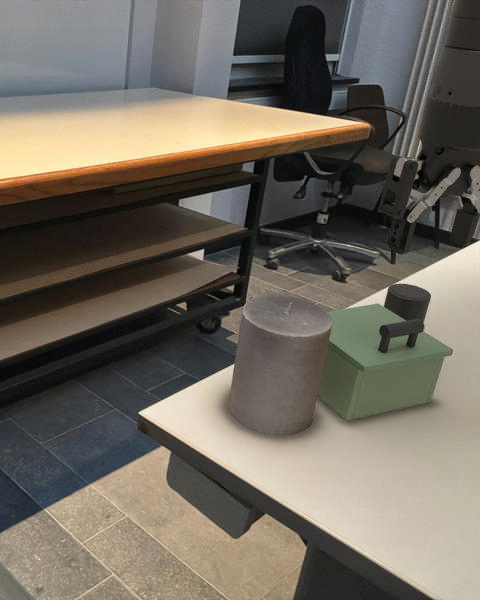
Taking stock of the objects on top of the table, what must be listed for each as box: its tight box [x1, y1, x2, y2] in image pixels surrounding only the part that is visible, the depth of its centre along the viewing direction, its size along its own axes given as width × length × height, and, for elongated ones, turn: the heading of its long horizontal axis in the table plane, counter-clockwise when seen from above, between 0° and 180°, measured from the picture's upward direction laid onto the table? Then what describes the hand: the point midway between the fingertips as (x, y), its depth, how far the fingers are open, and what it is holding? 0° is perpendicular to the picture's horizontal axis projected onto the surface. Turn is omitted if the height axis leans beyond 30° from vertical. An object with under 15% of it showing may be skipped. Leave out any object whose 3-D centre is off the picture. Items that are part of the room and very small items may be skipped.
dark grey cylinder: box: [383, 283, 432, 324], centre depth 94 cm, size 5×5×8 cm
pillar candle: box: [227, 294, 333, 436], centre depth 77 cm, size 10×10×15 cm
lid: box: [327, 303, 454, 373], centre depth 81 cm, size 12×13×4 cm
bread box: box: [317, 346, 446, 422], centre depth 84 cm, size 12×13×8 cm
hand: (429, 247), depth 74 cm, fingers open, 8 cm apart
